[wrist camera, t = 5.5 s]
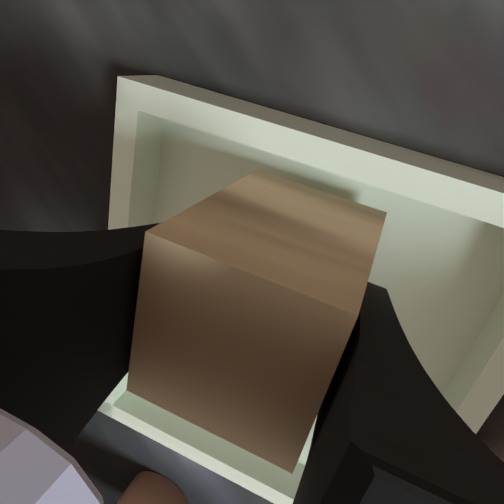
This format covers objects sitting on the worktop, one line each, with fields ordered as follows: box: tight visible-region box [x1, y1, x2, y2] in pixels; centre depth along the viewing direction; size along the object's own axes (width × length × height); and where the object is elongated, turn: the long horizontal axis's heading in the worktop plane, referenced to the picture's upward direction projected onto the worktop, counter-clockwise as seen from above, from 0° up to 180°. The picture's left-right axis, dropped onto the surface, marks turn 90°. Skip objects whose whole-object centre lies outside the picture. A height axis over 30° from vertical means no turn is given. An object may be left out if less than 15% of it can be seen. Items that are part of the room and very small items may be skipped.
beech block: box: [126, 170, 387, 474], centre depth 11 cm, size 4×4×6 cm
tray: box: [98, 75, 504, 504], centre depth 15 cm, size 14×15×2 cm
